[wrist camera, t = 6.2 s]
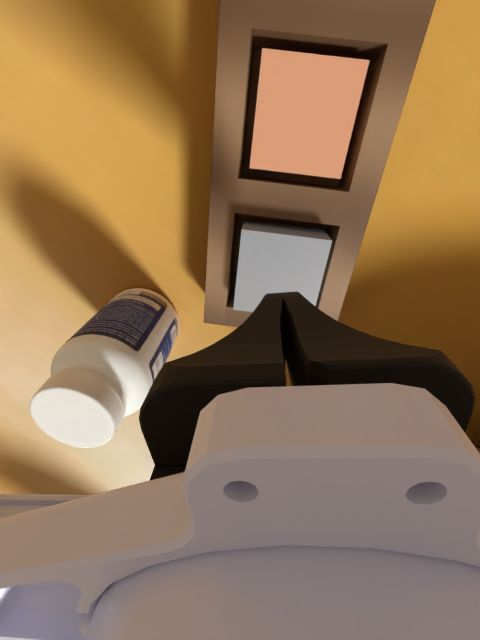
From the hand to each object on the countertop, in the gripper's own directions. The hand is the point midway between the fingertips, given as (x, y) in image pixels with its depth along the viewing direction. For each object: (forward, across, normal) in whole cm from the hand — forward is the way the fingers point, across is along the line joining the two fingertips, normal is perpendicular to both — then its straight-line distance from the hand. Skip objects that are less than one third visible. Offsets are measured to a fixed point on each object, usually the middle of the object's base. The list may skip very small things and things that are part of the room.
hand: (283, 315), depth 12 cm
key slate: (+7, 0, 0) cm, 7 cm away
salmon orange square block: (+8, -2, -7) cm, 11 cm away
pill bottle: (+9, +10, +4) cm, 14 cm away
